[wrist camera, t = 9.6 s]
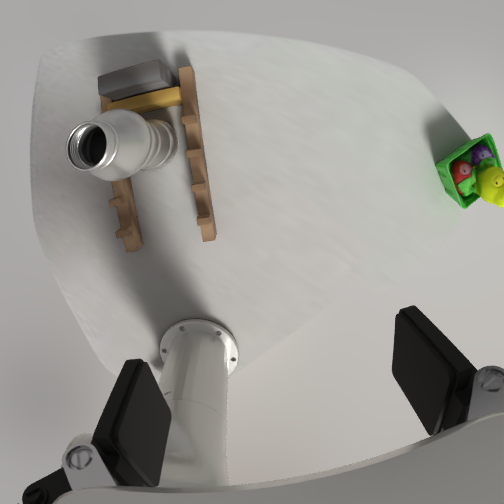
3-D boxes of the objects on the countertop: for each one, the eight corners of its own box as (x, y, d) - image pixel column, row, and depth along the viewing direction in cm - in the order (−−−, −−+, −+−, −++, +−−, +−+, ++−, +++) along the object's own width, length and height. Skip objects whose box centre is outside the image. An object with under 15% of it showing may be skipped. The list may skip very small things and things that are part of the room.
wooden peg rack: (216, 233, 42) (210, 256, 33) (133, 245, 42) (110, 269, 33) (194, 71, 34) (181, 51, 26) (108, 92, 34) (78, 81, 26)
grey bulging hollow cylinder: (124, 141, 37) (37, 143, 18) (164, 110, 36) (99, 82, 17) (150, 179, 39) (77, 210, 20) (191, 149, 38) (146, 152, 19)
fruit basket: (470, 130, 37) (518, 132, 27) (487, 177, 40) (533, 189, 29) (425, 161, 39) (473, 169, 28) (445, 210, 42) (491, 230, 31)
